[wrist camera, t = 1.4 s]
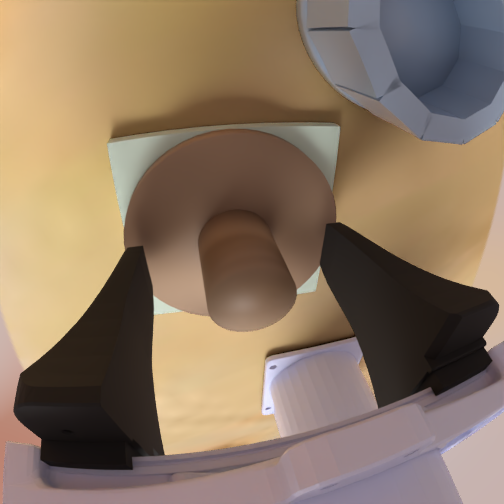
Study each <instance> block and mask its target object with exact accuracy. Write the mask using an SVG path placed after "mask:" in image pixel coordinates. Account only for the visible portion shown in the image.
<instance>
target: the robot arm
mask: <svg viewBox="0 0 504 504" xmlns="http://www.w3.org/2000/svg"><path fill="white" fill-rule="evenodd" d="M320 266H321V268H322V271H323V274H324V276H325V279H326V281H327V283H328V285H329V287H330V289H331V291H332V293H333V294H334V296H335V298H336V300H337V301H338V303H339V305H340V307H341V309H342V310H343V312H344V314H345V316H346V318H347V319H348V321H349V323H350V325H351V327H352V329H353V331H354V333H355V336H356V337H353V338H349V339H345V340H341V341H337V342H332V343H328V344H324V345H320V346H315V347H311V348H306V349H301V350H297V351H292V352H287V353H282V354H277V355H272V356H269V357H268V358H267V359H266V360H265V371H264V384H263V396H262V408H261V411H262V414H263V415H269V414H274V417H275V420H276V424H277V427H278V430H279V434H280V437H281V438H278V439H273V440H269V441H264V442H259V443H254V444H249V445H243V446H237V447H231V448H225V449H218V450H211V451H204V452H195V453H186V454H175V455H165V454H164V449H163V444H162V439H161V434H160V428H159V422H158V416H157V409H156V401H155V393H154V384H153V373H152V339H153V319H154V298H153V285H152V281H151V277H150V273H149V269H148V265H147V261H146V257H145V252H144V248H143V246H135V247H128V248H127V249H126V250H125V252H124V253H123V255H122V257H121V259H120V260H119V262H118V264H117V265H116V267H115V269H114V271H113V272H112V274H111V275H110V277H109V279H108V280H107V282H106V284H105V285H104V287H103V288H102V290H101V291H100V293H99V294H98V295H97V297H96V298H95V300H94V301H93V303H92V304H91V305H90V307H89V308H88V309H87V311H86V312H85V313H84V315H83V316H82V317H81V318H80V319H79V321H78V322H77V323H76V324H75V325H74V326H73V327H72V328H71V329H70V330H69V331H68V333H67V334H66V335H65V336H64V337H63V338H62V339H61V340H60V341H59V342H58V343H57V344H56V345H55V346H54V347H52V348H51V349H50V350H49V351H48V352H47V353H46V354H45V355H43V356H42V357H41V358H40V359H39V360H37V361H36V362H35V363H34V364H32V365H31V366H30V367H28V368H27V369H26V370H25V371H23V372H22V373H21V374H20V378H19V382H18V386H17V392H16V397H15V403H14V414H15V416H16V417H17V419H18V420H19V421H20V422H21V423H22V424H23V425H24V426H26V427H27V428H28V429H29V430H31V431H32V432H33V433H34V434H36V435H37V436H38V437H40V438H41V439H42V440H41V447H38V446H35V445H32V444H25V443H18V442H11V441H8V442H6V449H5V460H4V476H3V478H4V479H3V504H463V503H462V500H461V498H460V496H459V493H458V491H457V489H456V487H455V484H454V482H453V480H452V478H451V475H450V473H449V471H448V469H447V467H446V465H445V462H444V460H443V458H442V456H441V454H443V453H444V452H446V451H448V450H449V449H451V448H452V447H454V446H456V445H457V444H459V443H460V442H462V441H463V440H465V439H466V438H468V437H469V436H471V435H472V434H474V433H475V432H477V431H478V430H480V429H481V428H482V427H484V426H485V425H486V424H488V423H489V422H491V421H492V420H493V419H495V418H496V417H497V416H499V415H500V414H501V413H503V412H504V341H503V342H501V343H500V344H498V345H496V346H494V347H493V348H491V349H490V350H489V351H488V352H487V351H486V350H485V349H484V346H485V345H486V341H485V340H484V338H483V336H484V334H485V333H486V332H487V330H488V329H489V327H490V326H491V324H492V323H493V321H494V320H495V318H496V316H497V313H498V311H499V304H498V302H497V301H496V300H495V299H494V298H493V297H492V295H491V294H490V293H489V292H488V291H487V290H482V289H478V288H474V287H470V286H466V285H462V284H459V283H456V282H453V281H450V280H447V279H444V278H441V277H439V276H436V275H434V274H431V273H429V272H427V271H424V270H422V269H420V268H418V267H416V266H414V265H412V264H410V263H408V262H406V261H404V260H402V259H400V258H398V257H397V256H395V255H393V254H391V253H390V252H388V251H386V250H385V249H383V248H381V247H380V246H378V245H376V244H375V243H373V242H372V241H370V240H369V239H367V238H365V237H364V236H362V235H361V234H359V233H357V232H356V231H354V230H353V229H351V228H349V227H348V226H346V225H344V224H342V223H340V222H338V223H328V224H326V228H325V235H324V241H323V247H322V252H321V258H320ZM362 356H363V357H364V360H365V363H366V365H367V368H368V372H369V375H370V378H371V382H372V385H373V389H374V393H375V397H376V400H375V398H374V396H373V394H372V392H371V390H370V388H369V386H368V384H367V382H366V379H365V377H364V375H363V373H362V371H361V369H360V367H359V365H358V364H359V362H360V360H361V358H362ZM376 401H377V402H376Z"/></svg>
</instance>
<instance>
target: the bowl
mask: <svg viewBox="0 0 504 504" xmlns="http://www.w3.org/2000/svg"><path fill="white" fill-rule="evenodd" d="M296 16H297V22H298V27H299V32H300V35H301V38H302V41H303V44H304V46H305V49H306V51H307V53H308V55H309V57H310V59H311V61H312V62H313V64H314V66H315V67H316V69H317V70H318V71H319V73H320V74H321V75H322V77H323V78H324V79H325V80H326V81H327V82H328V83H329V84H330V86H331V87H332V88H333V89H335V90H336V91H337V92H338V93H339V94H341V95H342V96H343V97H345V98H346V99H348V100H349V101H351V102H352V103H354V104H356V105H358V106H361V107H363V108H365V109H367V110H368V111H370V112H371V113H372V114H373V115H375V116H377V117H379V118H381V119H383V120H385V121H387V122H389V123H391V124H393V125H395V126H397V127H399V128H401V129H402V130H404V131H406V132H408V133H410V134H412V135H414V136H415V137H417V138H419V139H421V140H425V141H435V142H444V143H453V144H461V145H462V144H465V143H467V142H469V141H470V140H472V139H473V138H475V137H477V136H478V135H480V134H481V133H483V132H484V131H486V130H488V129H489V128H491V127H492V126H494V125H495V124H496V122H498V121H499V119H500V117H501V115H502V114H503V112H504V0H296Z"/></svg>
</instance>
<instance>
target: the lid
mask: <svg viewBox="0 0 504 504" xmlns="http://www.w3.org/2000/svg"><path fill="white" fill-rule="evenodd" d="M328 223H336V206H335V201H334V196H333V193H332V190H331V188H330V185H329V183H328V181H327V179H326V178H325V176H324V174H323V173H322V172H321V170H320V169H319V168H318V167H317V165H316V164H315V163H314V162H313V161H312V160H311V159H310V158H309V157H308V156H307V155H305V154H304V153H303V152H302V151H301V150H300V149H299V148H297V147H296V146H294V145H293V144H291V143H290V142H288V141H286V140H284V139H282V138H280V137H278V136H275V135H273V134H269V133H266V132H262V131H258V130H251V129H222V130H215V131H210V132H207V133H203V134H200V135H196V136H194V137H192V138H189V139H187V140H185V141H182V142H181V143H179V144H177V145H176V146H174V147H172V148H171V149H169V150H168V151H166V152H165V153H164V154H163V155H161V156H160V157H159V158H158V159H157V160H156V161H155V162H154V163H153V164H152V165H151V166H150V167H149V168H148V169H147V170H146V172H145V173H144V174H143V176H142V177H141V179H140V180H139V182H138V183H137V185H136V187H135V189H134V191H133V194H132V196H131V199H130V202H129V205H128V209H127V213H126V218H125V225H124V246H125V250H126V249H127V248H128V247H135V246H143V248H144V252H145V257H146V261H147V265H148V269H149V273H150V277H151V281H152V285H153V295H154V296H155V297H156V298H158V299H159V300H161V301H162V302H164V303H166V304H167V305H169V306H171V307H174V308H176V309H178V310H181V311H184V312H188V313H191V314H197V315H202V316H210V317H211V319H212V320H213V321H214V322H215V323H216V324H217V325H219V326H220V327H222V328H225V329H227V330H231V331H237V332H248V331H255V330H259V329H263V328H265V327H268V326H270V325H272V324H274V323H276V322H277V321H279V320H280V319H282V318H283V317H284V316H285V315H286V314H287V313H288V312H289V311H290V309H291V308H292V306H293V305H294V303H295V300H296V296H297V289H298V288H300V287H301V286H302V285H303V284H304V283H305V282H306V281H307V280H308V279H309V278H310V277H311V276H312V275H313V274H314V273H315V271H316V270H317V269H318V267H319V266H320V258H321V252H322V247H323V241H324V235H325V228H326V224H328Z"/></svg>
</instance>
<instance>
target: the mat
mask: <svg viewBox="0 0 504 504" xmlns="http://www.w3.org/2000/svg"><path fill="white" fill-rule="evenodd" d="M222 129H251V130H258V131H262V132H266V133H269V134H273V135H275V136H278V137H280V138H282V139H284V140H286V141H288V142H290V143H291V144H293V145H294V146H296V147H297V148H299V149H300V150H301V151H302V152H303V153H304V154H305V155H307V156H308V157H309V158H310V159H311V160H312V161H313V162H314V163H315V164H316V165H317V167H318V168H319V169H320V170H321V172H322V173H323V174H324V176H325V178H326V179H327V181H328V183H329V185H330V188H331V190H332V191H333V184H334V176H335V169H336V161H337V153H338V145H339V136H340V126H339V125H337V124H335V123H324V122H279V123H249V124H231V125H217V126H204V127H194V128H184V129H175V130H166V131H158V132H151V133H144V134H137V135H131V136H124V137H118V138H113V139H110V140H109V141H108V143H107V146H108V152H109V158H110V164H111V169H112V174H113V180H114V185H115V190H116V194H117V199H118V204H119V208H120V213H121V217H122V222H123V226H124V225H125V218H126V213H127V209H128V205H129V202H130V199H131V196H132V194H133V191H134V189H135V187H136V185H137V183H138V182H139V180H140V179H141V177H142V176H143V174H144V173H145V172H146V170H147V169H148V168H149V167H150V166H151V165H152V164H153V163H154V162H155V161H156V160H157V159H158V158H159V157H160V156H161V155H163V154H164V153H165V152H166V151H168V150H169V149H171V148H172V147H174V146H176V145H177V144H179V143H181V142H182V141H185V140H187V139H189V138H192V137H194V136H196V135H200V134H203V133H207V132H210V131H215V130H222ZM319 271H320V266H319V267H318V269H317V270H316V271H315V273H314V274H313V275H312V276H311V277H310V278H309V279H308V280H307V281H306V282H305V283H304V284H303V285H302V286H301V287H300V288H298V289H297V294H302V293H308V292H313V291H316V287H317V282H318V276H319ZM153 298H154V315H156V314H164V313H172V312H180V311H181V310H178V309H176V308H174V307H171V306H169V305H167V304H166V303H164V302H162V301H161V300H159V299H158V298H156V297H155V296H154V295H153Z"/></svg>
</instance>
